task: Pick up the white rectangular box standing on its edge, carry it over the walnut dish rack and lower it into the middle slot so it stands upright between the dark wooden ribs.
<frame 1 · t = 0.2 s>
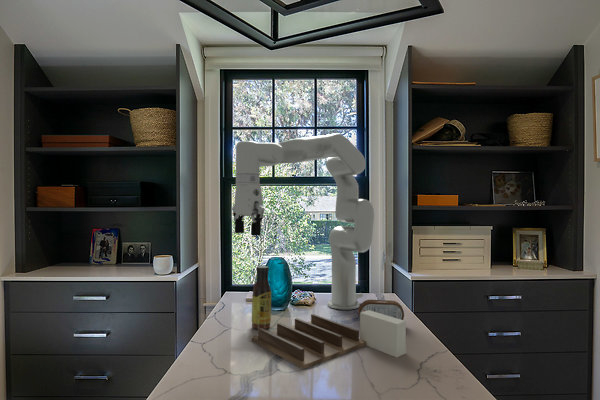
hand: (247, 234, 119), 31 cm above the table, tool pointing down, fingers open, 9 cm apart
sauce bottle: (261, 327, 123), on the table
dish rack: (308, 342, 110), on the table
white rectangular box: (382, 348, 106), on the table
tin: (381, 326, 125), on the table
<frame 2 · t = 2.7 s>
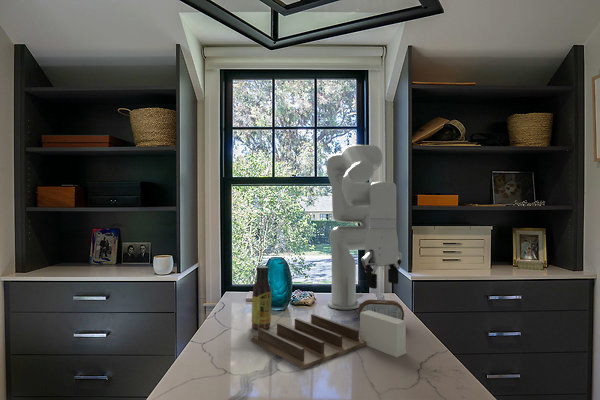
hand: (382, 285, 106), 18 cm above the table, tool pointing down, fingers open, 9 cm apart
nothing on the table moved.
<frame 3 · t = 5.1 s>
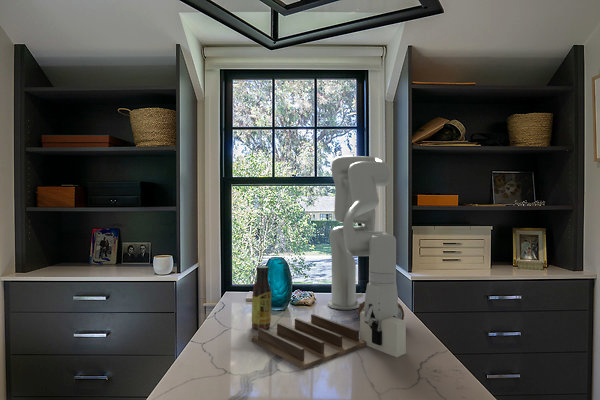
hand: (382, 341, 106), 2 cm above the table, tool pointing down, fingers closed on white rectangular box, 4 cm apart
white rectangular box: (382, 347, 106), on the table, touching dish rack, gripper
everything else where it was.
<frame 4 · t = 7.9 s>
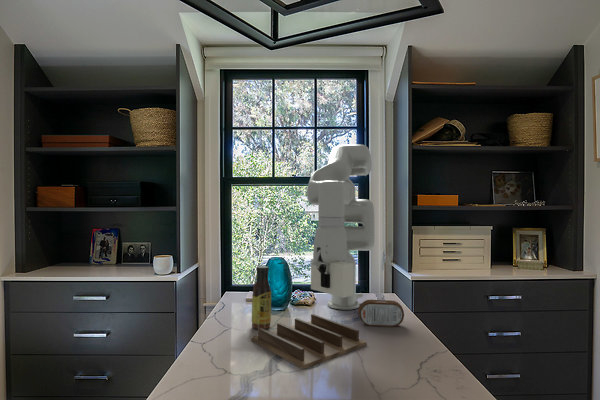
hand: (330, 285, 109), 17 cm above the table, tool pointing down, fingers closed on white rectangular box, 4 cm apart
white rectangular box: (331, 291, 109), point 15 cm above the table, touching gripper
everything else where it was.
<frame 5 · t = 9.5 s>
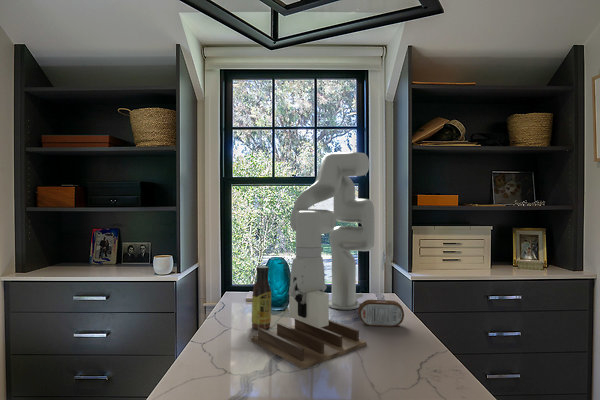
hand: (308, 314, 110), 8 cm above the table, tool pointing down, fingers closed on white rectangular box, 4 cm apart
white rectangular box: (308, 320, 110), point 7 cm above the table, touching gripper
everything else where it was.
when the fingers open (4 cm above the table, at t = 10.7 s): white rectangular box drops 1 cm, resting on dish rack.
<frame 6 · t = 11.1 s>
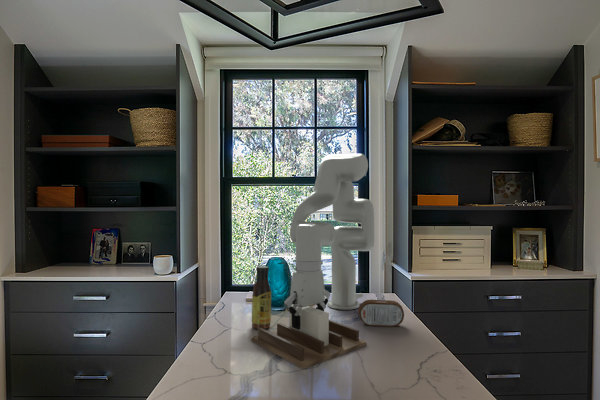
hand: (308, 324, 110), 5 cm above the table, tool pointing down, fingers open, 8 cm apart
white rectangular box: (308, 339, 110), point 1 cm above the table, touching dish rack
everything else where it was.
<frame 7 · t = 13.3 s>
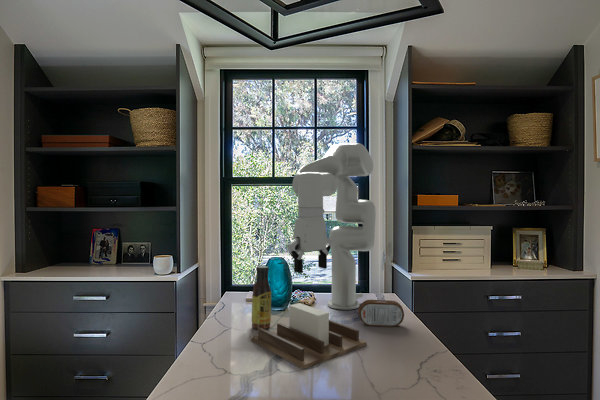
hand: (310, 270, 113), 21 cm above the table, tool pointing down, fingers open, 9 cm apart
nothing on the table moved.
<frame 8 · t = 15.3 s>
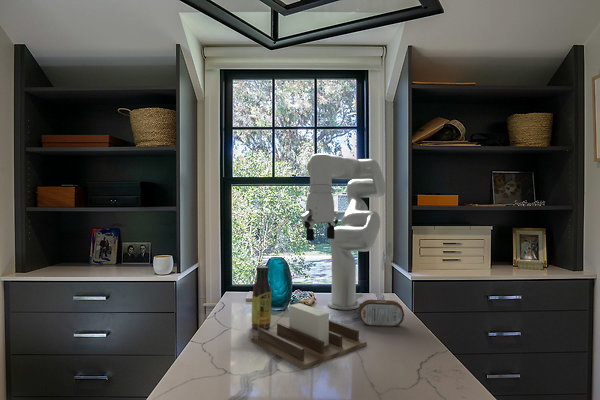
hand: (320, 239, 129), 28 cm above the table, tool pointing down, fingers open, 9 cm apart
nothing on the table moved.
at the end: white rectangular box inside the target area on the dish rack (0.1 cm from its centre), point 1.0 cm above the dish rack's base; white rectangular box tilted 0°; the gripper is holding nothing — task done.
